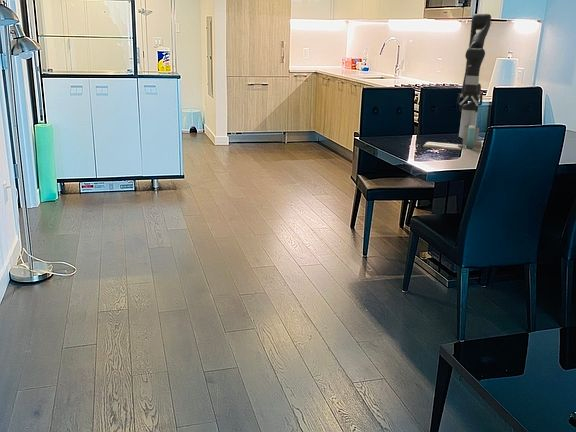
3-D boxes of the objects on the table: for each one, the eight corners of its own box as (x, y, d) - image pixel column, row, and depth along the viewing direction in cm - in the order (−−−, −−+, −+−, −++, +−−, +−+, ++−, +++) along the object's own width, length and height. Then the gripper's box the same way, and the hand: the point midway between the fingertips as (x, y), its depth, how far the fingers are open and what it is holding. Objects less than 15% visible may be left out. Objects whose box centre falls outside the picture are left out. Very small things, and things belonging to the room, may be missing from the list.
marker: (466, 147, 316) (469, 125, 313) (473, 147, 315) (475, 125, 311) (465, 148, 313) (468, 126, 310) (472, 149, 312) (475, 126, 308)
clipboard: (426, 143, 326) (427, 140, 326) (462, 146, 319) (463, 143, 319) (423, 147, 314) (423, 143, 313) (460, 150, 307) (460, 147, 306)
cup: (461, 144, 326) (463, 127, 323) (463, 142, 333) (465, 125, 330) (476, 145, 322) (478, 128, 320) (478, 143, 329) (480, 126, 327)
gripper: (484, 84, 329) (481, 112, 334) (459, 83, 334) (456, 110, 338) (484, 84, 323) (480, 113, 327) (458, 83, 327) (455, 111, 332)
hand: (468, 112), depth 333 cm, fingers open, 8 cm apart
